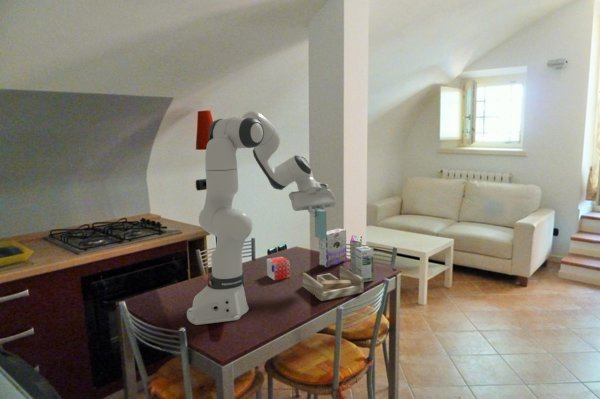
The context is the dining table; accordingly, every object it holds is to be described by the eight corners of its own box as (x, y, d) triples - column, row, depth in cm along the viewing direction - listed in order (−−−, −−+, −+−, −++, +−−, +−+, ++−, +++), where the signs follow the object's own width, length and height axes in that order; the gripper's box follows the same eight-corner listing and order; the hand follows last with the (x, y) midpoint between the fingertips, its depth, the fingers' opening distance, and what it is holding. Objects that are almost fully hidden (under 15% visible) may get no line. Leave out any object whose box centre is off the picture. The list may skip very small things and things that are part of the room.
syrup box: (361, 282, 182) (361, 250, 180) (355, 278, 188) (355, 246, 185) (373, 280, 184) (373, 248, 182) (367, 276, 189) (367, 245, 187)
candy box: (338, 258, 216) (338, 227, 214) (346, 261, 212) (346, 229, 209) (318, 264, 208) (318, 232, 205) (326, 267, 203) (326, 234, 200)
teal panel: (321, 239, 178) (320, 211, 176) (315, 236, 183) (314, 209, 181) (326, 238, 179) (326, 210, 177) (320, 235, 184) (319, 208, 182)
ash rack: (321, 300, 164) (321, 286, 163) (302, 286, 179) (302, 273, 178) (363, 292, 171) (363, 278, 170) (342, 279, 187) (342, 266, 186)
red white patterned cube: (290, 277, 191) (289, 260, 190) (274, 280, 187) (273, 263, 186) (282, 272, 198) (282, 256, 197) (267, 275, 194) (266, 259, 193)
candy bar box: (351, 268, 201) (351, 234, 199) (362, 268, 200) (362, 235, 198) (349, 276, 191) (349, 240, 188) (361, 276, 190) (361, 241, 187)
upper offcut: (321, 289, 170) (321, 283, 170) (320, 286, 174) (320, 280, 173) (351, 288, 170) (351, 282, 170) (349, 285, 174) (349, 279, 174)
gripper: (289, 187, 181) (299, 214, 174) (331, 184, 189) (342, 209, 182) (285, 196, 186) (295, 222, 178) (326, 192, 194) (337, 217, 187)
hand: (319, 215), depth 180 cm, fingers closed on teal panel, 2 cm apart
